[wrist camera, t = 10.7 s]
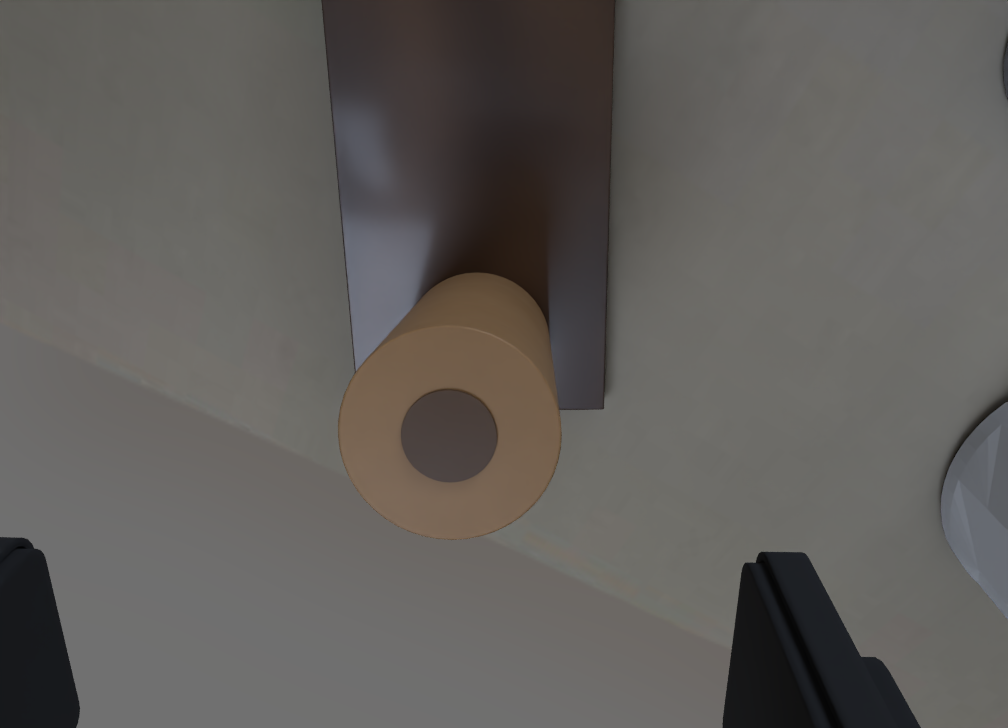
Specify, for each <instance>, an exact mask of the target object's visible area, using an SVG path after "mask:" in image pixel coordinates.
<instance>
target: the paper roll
mask: <svg viewBox="0 0 1008 728" xmlns="http://www.w3.org/2000/svg"><path fill="white" fill-rule="evenodd" d="M561 436H562V434H561V420H560V412H559V404H558V397H557V389H556V382H555V374H554V367H553V359H552V351H551V344H550V336H549V331H548V326H547V323H546V320H545V317H544V315H543V313H542V311H541V309H540V307H539V306H538V305H537V303H536V302H535V300H534V299H533V298H532V297H531V296H530V295H529V294H528V293H527V292H526V291H525V290H524V289H523V288H521V287H520V286H519V285H517V284H515V283H514V282H512V281H510V280H508V279H506V278H504V277H500V276H497V275H494V274H488V273H477V272H476V273H465V274H460V275H456V276H453V277H451V278H448V279H446V280H444V281H442V282H440V283H439V284H437V285H436V286H434V287H433V288H431V289H430V290H429V291H428V292H427V293H426V294H425V295H424V296H423V297H422V298H421V299H420V300H419V302H418V303H417V304H416V305H415V306H414V307H413V308H412V309H411V310H410V311H409V313H408V314H407V315H406V316H405V317H404V318H403V319H402V320H401V321H400V322H399V324H398V325H397V326H396V327H395V328H394V329H393V330H392V331H391V332H390V333H389V335H388V336H387V337H386V338H385V339H384V340H383V341H382V342H381V343H380V344H379V346H378V347H377V348H376V349H375V350H374V351H373V352H372V353H371V354H370V355H369V356H368V358H367V359H366V360H365V361H364V362H363V364H362V365H361V366H360V367H359V368H358V370H357V371H356V373H355V374H354V376H353V378H352V379H351V381H350V383H349V385H348V387H347V389H346V392H345V394H344V397H343V400H342V404H341V407H340V414H339V420H338V438H339V446H340V452H341V456H342V459H343V463H344V466H345V468H346V470H347V473H348V475H349V477H350V479H351V481H352V483H353V484H354V486H355V488H356V489H357V491H358V492H359V493H360V495H361V496H362V497H363V499H364V500H365V501H366V502H367V503H368V504H369V505H370V506H371V507H372V508H373V509H374V510H375V511H376V512H378V513H379V514H380V515H381V516H383V517H384V518H385V519H387V520H389V521H390V522H392V523H394V524H395V525H397V526H398V527H401V528H403V529H405V530H407V531H409V532H412V533H415V534H418V535H422V536H425V537H431V538H436V539H448V540H456V539H468V538H474V537H479V536H483V535H486V534H489V533H492V532H495V531H497V530H499V529H501V528H503V527H505V526H507V525H509V524H511V523H512V522H514V521H515V520H517V519H518V518H520V517H521V516H522V515H523V514H524V513H526V512H527V511H528V510H529V509H530V508H531V507H532V506H533V505H534V504H535V503H536V502H537V501H538V499H539V498H540V497H541V495H542V494H543V492H544V491H545V490H546V488H547V486H548V484H549V482H550V481H551V479H552V477H553V474H554V472H555V469H556V466H557V463H558V459H559V454H560V449H561Z"/></svg>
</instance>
